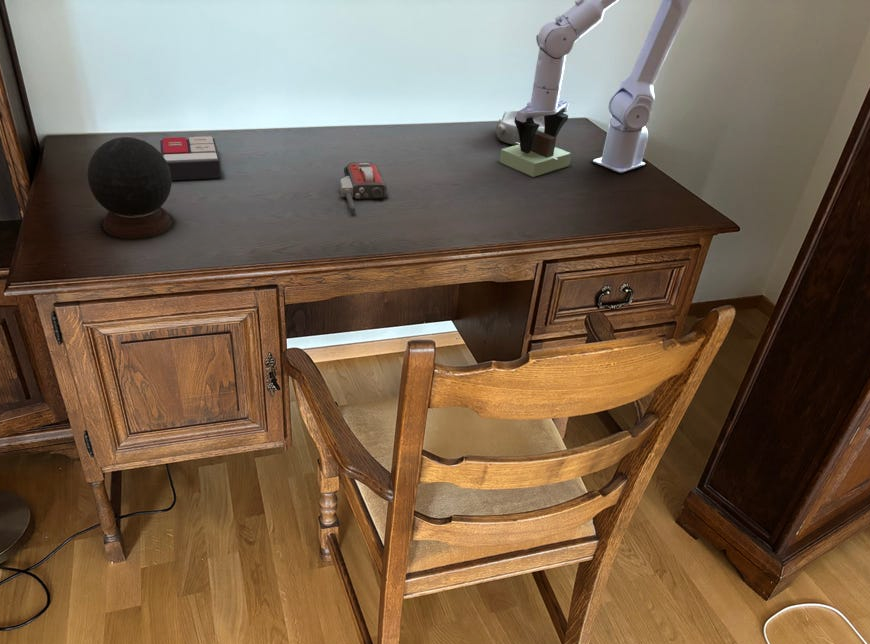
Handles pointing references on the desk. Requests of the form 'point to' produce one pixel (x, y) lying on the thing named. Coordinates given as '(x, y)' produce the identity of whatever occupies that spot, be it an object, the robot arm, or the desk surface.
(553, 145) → the brown block
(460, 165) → the desk surface
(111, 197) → the ball on wooden base
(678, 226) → the desk surface
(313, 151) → the desk surface
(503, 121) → the dish
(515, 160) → the stand
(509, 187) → the desk surface
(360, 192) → the walkie-talkie
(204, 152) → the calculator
